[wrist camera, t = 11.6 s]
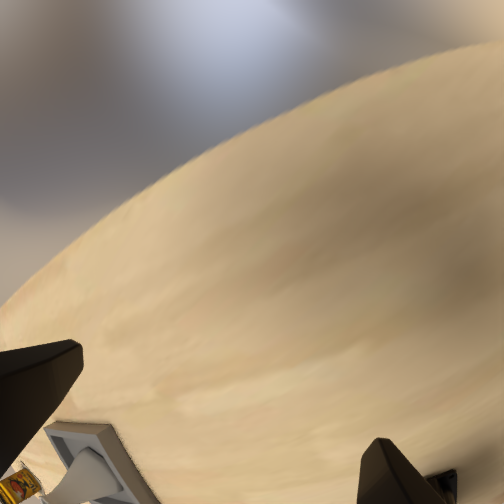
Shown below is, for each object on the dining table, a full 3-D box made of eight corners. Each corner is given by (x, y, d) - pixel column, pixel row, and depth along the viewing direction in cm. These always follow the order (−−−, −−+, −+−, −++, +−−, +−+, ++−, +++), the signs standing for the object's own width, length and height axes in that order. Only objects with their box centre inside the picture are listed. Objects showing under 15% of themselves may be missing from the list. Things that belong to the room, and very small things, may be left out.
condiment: (40, 481, 35) (3, 502, 24) (47, 499, 36) (14, 519, 25) (20, 459, 37) (-16, 477, 26) (27, 479, 38) (-6, 496, 27)
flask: (118, 498, 25) (71, 537, 16) (77, 461, 27) (27, 492, 18) (130, 479, 24) (75, 525, 15) (84, 437, 26) (24, 472, 16)
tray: (165, 510, 24) (154, 522, 22) (100, 495, 28) (90, 503, 25) (111, 424, 25) (95, 434, 23) (55, 421, 29) (43, 427, 26)
